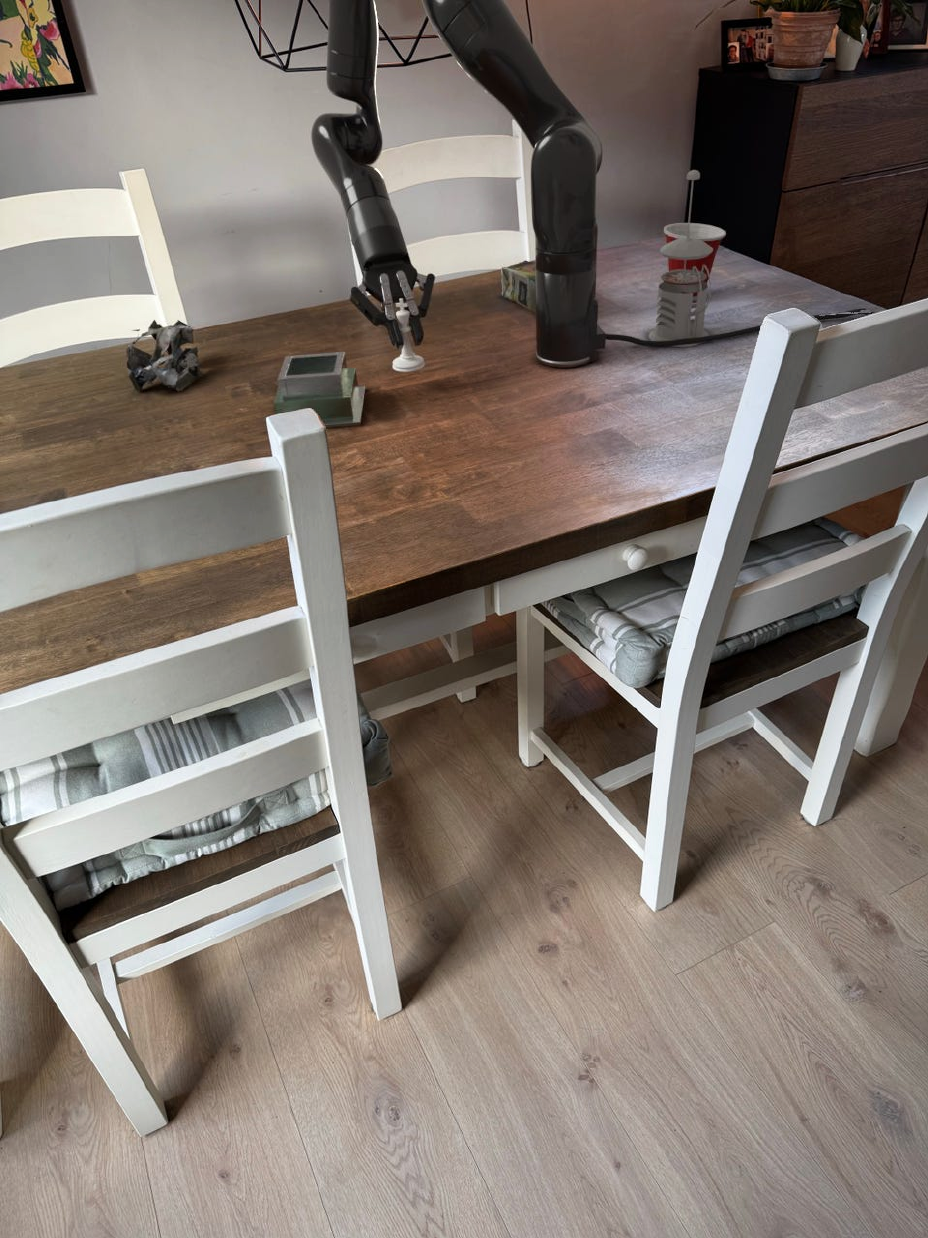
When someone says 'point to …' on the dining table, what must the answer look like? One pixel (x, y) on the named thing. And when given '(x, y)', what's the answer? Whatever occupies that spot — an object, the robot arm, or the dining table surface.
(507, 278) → the juice carton
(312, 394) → the stand
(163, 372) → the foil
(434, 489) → the dining table surface
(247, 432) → the dining table surface
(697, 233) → the plastic cup
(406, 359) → the chess piece
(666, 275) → the french press
